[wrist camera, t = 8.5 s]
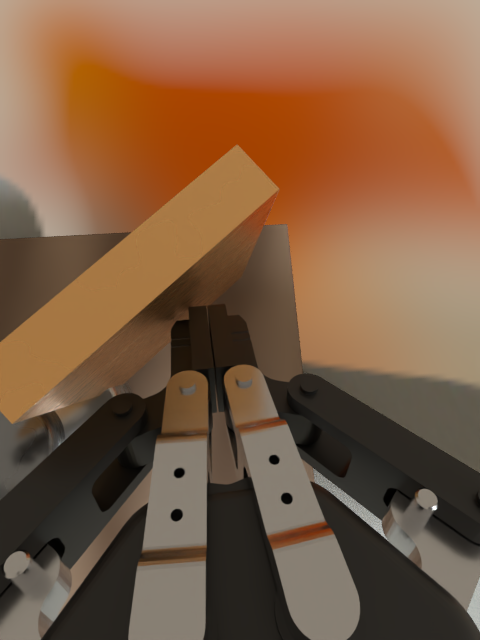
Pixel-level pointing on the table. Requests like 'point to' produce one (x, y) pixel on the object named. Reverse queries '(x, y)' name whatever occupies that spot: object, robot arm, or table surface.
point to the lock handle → (125, 310)
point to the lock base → (240, 299)
